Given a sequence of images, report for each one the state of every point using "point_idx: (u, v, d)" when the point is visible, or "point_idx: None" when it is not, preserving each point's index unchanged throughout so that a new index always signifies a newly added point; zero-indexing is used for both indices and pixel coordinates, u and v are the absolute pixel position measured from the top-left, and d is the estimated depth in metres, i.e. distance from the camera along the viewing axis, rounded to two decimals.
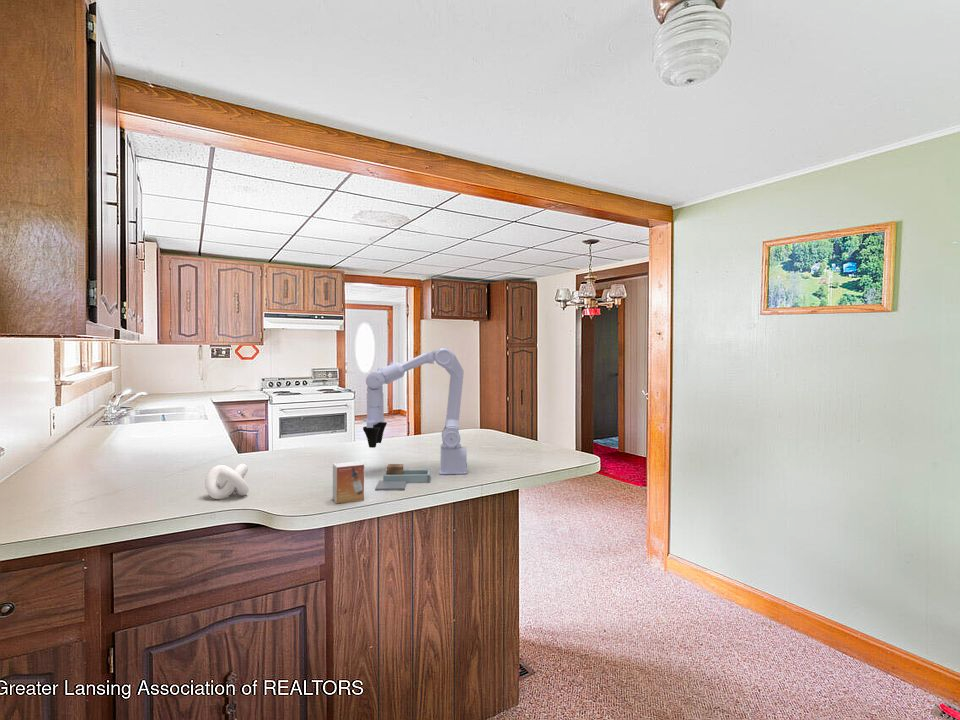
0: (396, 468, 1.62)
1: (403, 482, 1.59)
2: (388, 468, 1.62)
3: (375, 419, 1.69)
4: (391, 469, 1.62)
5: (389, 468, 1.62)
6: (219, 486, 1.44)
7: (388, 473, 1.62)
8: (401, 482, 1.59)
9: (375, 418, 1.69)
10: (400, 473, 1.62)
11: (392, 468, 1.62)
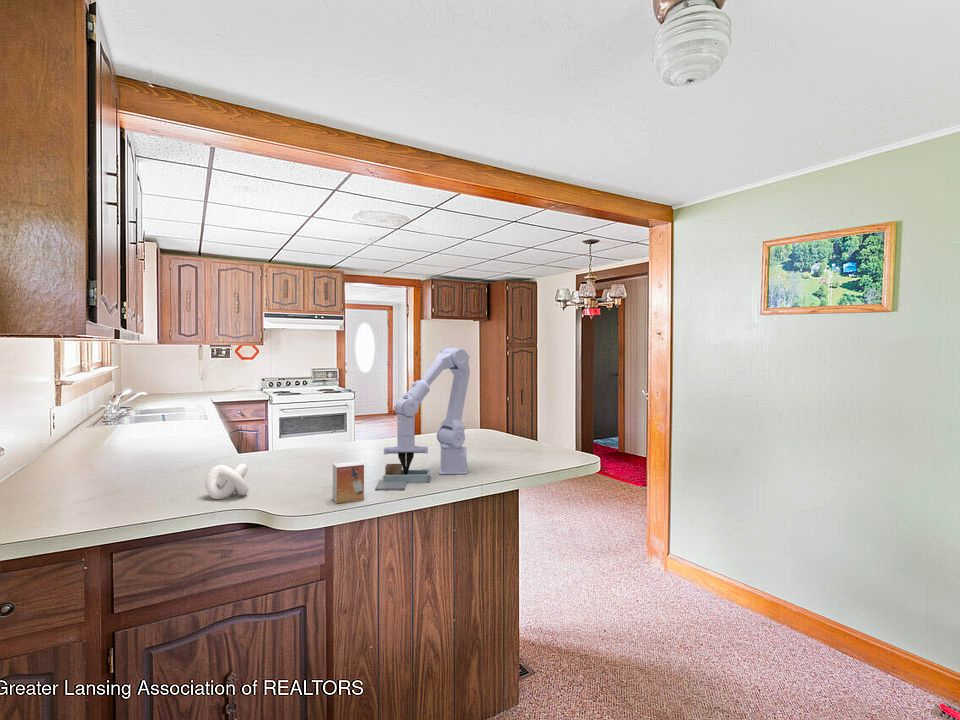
0: (394, 468, 1.62)
1: (403, 482, 1.59)
2: (386, 468, 1.62)
3: (397, 447, 1.63)
4: (389, 469, 1.62)
5: (387, 468, 1.62)
6: (219, 486, 1.44)
7: (386, 473, 1.62)
8: (401, 482, 1.59)
9: (397, 446, 1.63)
10: (398, 473, 1.62)
11: (390, 468, 1.62)
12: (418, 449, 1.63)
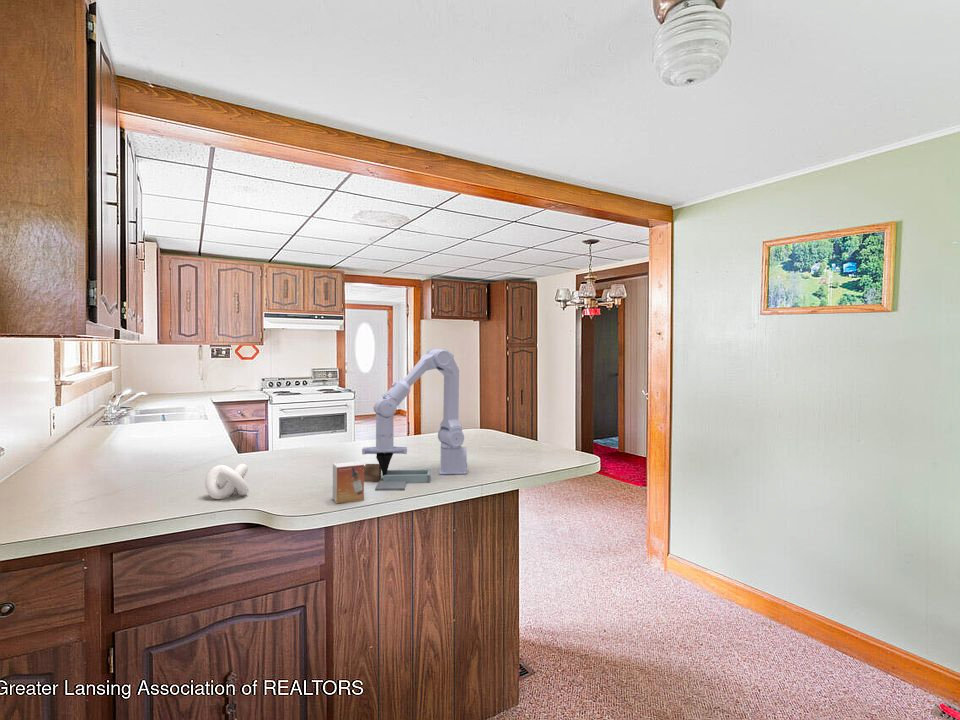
0: (373, 468, 1.62)
1: (403, 482, 1.59)
2: (365, 468, 1.62)
3: (375, 447, 1.62)
4: (368, 469, 1.62)
5: (366, 468, 1.62)
6: (219, 486, 1.44)
7: (365, 473, 1.62)
8: (401, 482, 1.59)
9: (376, 446, 1.62)
10: (377, 473, 1.62)
11: (369, 468, 1.62)
12: (396, 449, 1.62)
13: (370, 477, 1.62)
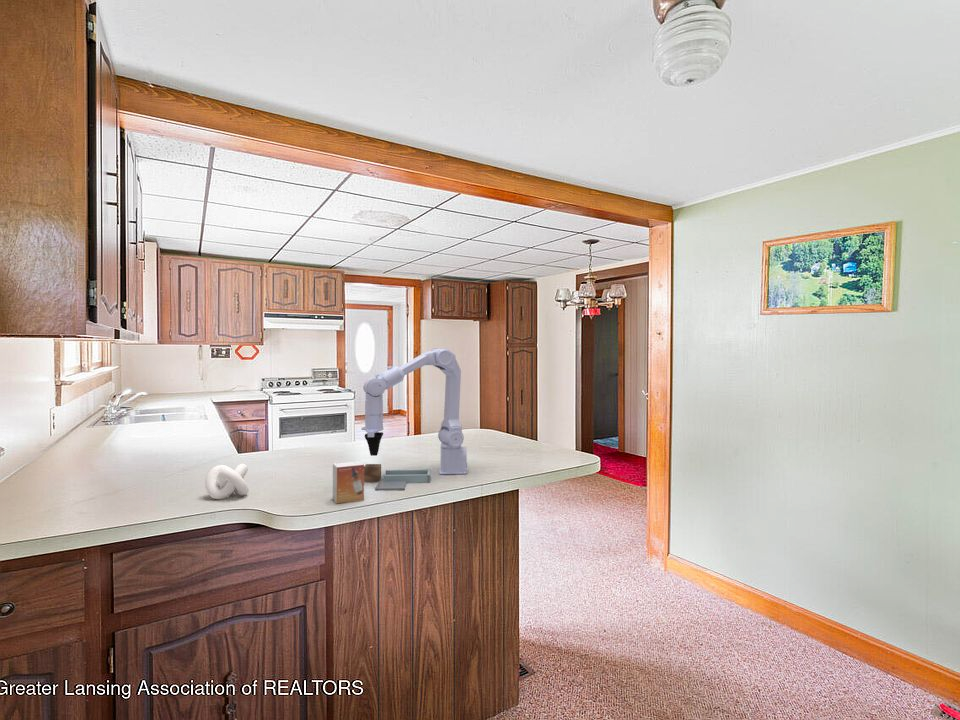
0: (373, 468, 1.62)
1: (403, 482, 1.59)
2: (365, 468, 1.62)
3: (375, 428, 1.60)
4: (368, 469, 1.62)
5: (366, 468, 1.62)
6: (219, 486, 1.44)
7: (365, 473, 1.62)
8: (401, 482, 1.59)
9: (374, 426, 1.60)
10: (377, 473, 1.62)
11: (369, 468, 1.62)
12: None
13: (370, 477, 1.62)
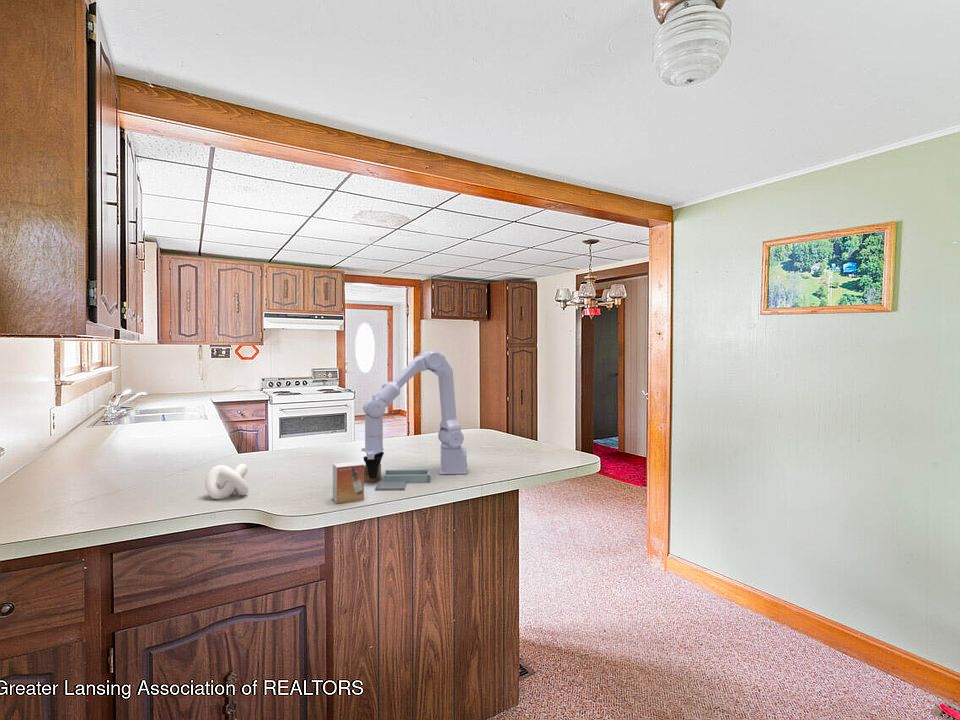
0: None
1: (403, 482, 1.59)
2: (365, 468, 1.61)
3: (375, 449, 1.60)
4: None
5: (366, 468, 1.61)
6: (219, 486, 1.44)
7: (365, 473, 1.61)
8: (401, 482, 1.59)
9: (374, 448, 1.60)
10: (377, 473, 1.61)
11: None
12: None
13: None
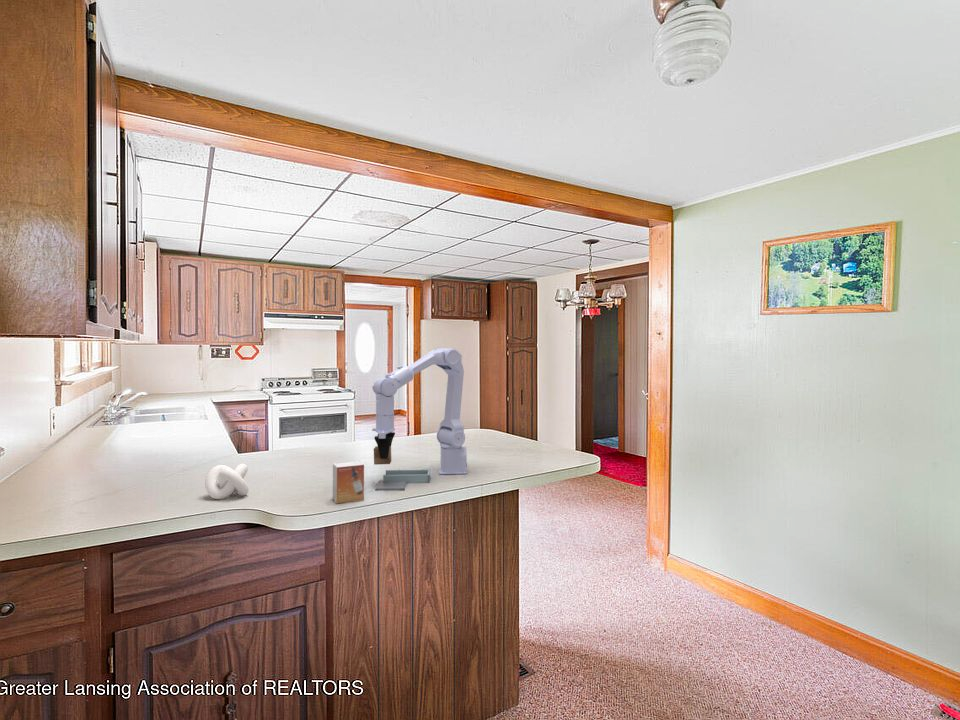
0: None
1: (403, 482, 1.59)
2: (375, 450, 1.57)
3: (386, 429, 1.56)
4: (378, 451, 1.57)
5: (376, 450, 1.57)
6: (219, 486, 1.44)
7: (375, 455, 1.57)
8: (401, 482, 1.59)
9: (386, 427, 1.56)
10: None
11: None
12: None
13: (381, 459, 1.57)
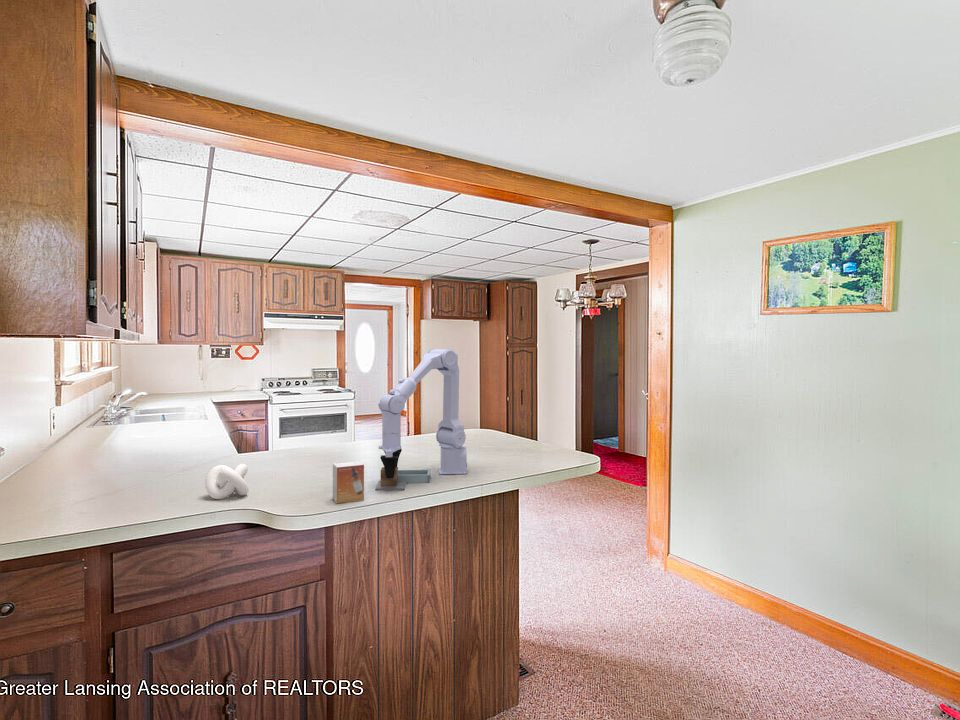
0: None
1: (403, 482, 1.59)
2: (382, 471, 1.55)
3: (393, 447, 1.54)
4: None
5: (383, 471, 1.55)
6: (219, 486, 1.44)
7: (382, 477, 1.55)
8: (401, 482, 1.59)
9: (392, 446, 1.54)
10: (394, 477, 1.55)
11: None
12: None
13: (387, 481, 1.55)
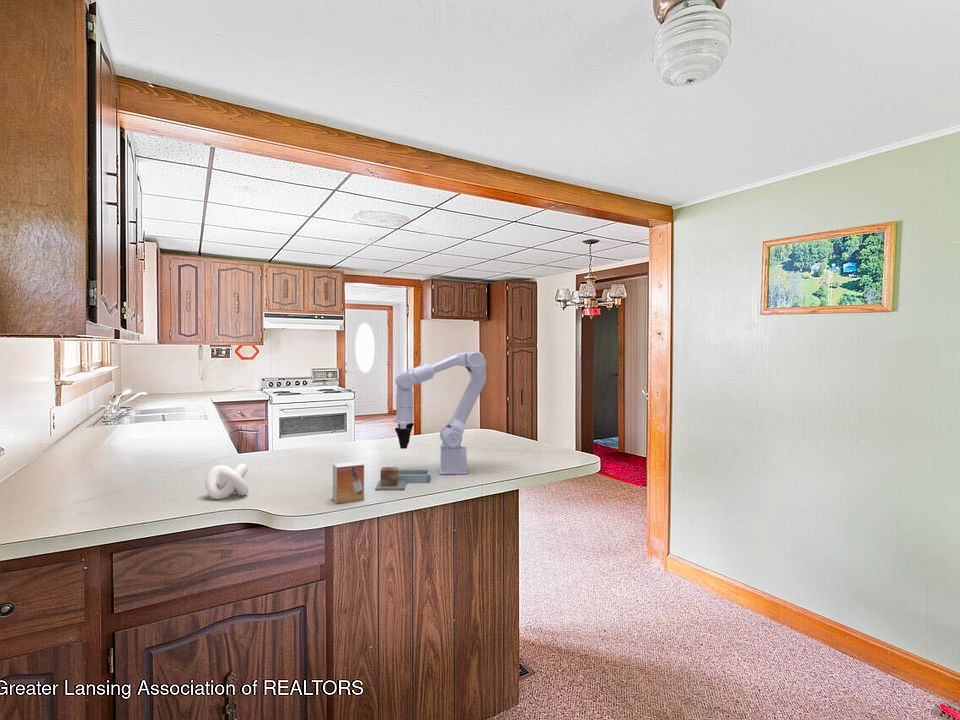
0: (390, 471, 1.55)
1: (403, 482, 1.59)
2: (382, 471, 1.55)
3: (406, 420, 1.68)
4: (385, 472, 1.55)
5: (383, 471, 1.55)
6: (219, 486, 1.44)
7: (382, 477, 1.55)
8: (401, 482, 1.59)
9: (406, 419, 1.68)
10: (394, 477, 1.55)
11: (386, 471, 1.55)
12: None
13: (387, 481, 1.55)
